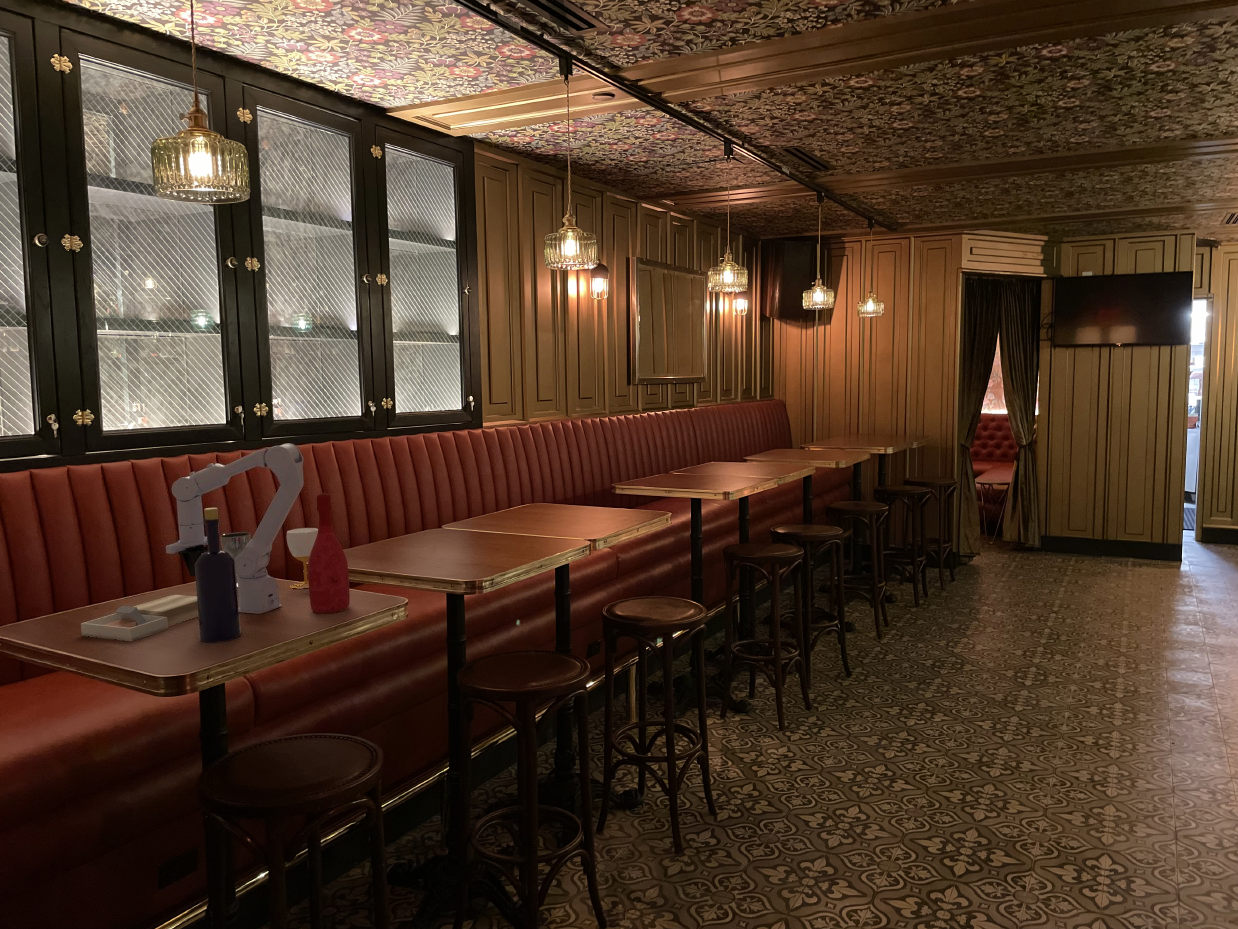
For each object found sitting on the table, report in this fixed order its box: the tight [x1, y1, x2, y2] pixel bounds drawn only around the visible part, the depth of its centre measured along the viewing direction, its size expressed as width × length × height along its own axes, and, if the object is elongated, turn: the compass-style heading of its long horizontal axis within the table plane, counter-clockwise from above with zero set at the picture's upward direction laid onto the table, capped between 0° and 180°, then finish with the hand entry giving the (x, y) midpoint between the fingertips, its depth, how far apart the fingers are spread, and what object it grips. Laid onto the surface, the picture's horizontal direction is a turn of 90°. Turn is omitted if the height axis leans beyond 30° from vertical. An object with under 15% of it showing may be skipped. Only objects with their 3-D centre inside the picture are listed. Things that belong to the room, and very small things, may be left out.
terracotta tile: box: [105, 620, 136, 628], centre depth 205 cm, size 5×5×2 cm
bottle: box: [195, 507, 242, 644], centre depth 199 cm, size 9×9×30 cm
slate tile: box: [115, 605, 147, 626], centre depth 208 cm, size 5×5×2 cm
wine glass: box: [219, 531, 252, 587], centre depth 252 cm, size 8×8×15 cm
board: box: [132, 594, 199, 627], centre depth 218 cm, size 12×14×4 cm
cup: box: [286, 527, 318, 590], centre depth 249 cm, size 9×9×16 cm
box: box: [80, 612, 169, 642], centre depth 206 cm, size 16×10×3 cm, turn 69°
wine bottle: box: [307, 492, 351, 614], centre depth 221 cm, size 10×10×30 cm
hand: (195, 575), depth 223 cm, fingers closed
